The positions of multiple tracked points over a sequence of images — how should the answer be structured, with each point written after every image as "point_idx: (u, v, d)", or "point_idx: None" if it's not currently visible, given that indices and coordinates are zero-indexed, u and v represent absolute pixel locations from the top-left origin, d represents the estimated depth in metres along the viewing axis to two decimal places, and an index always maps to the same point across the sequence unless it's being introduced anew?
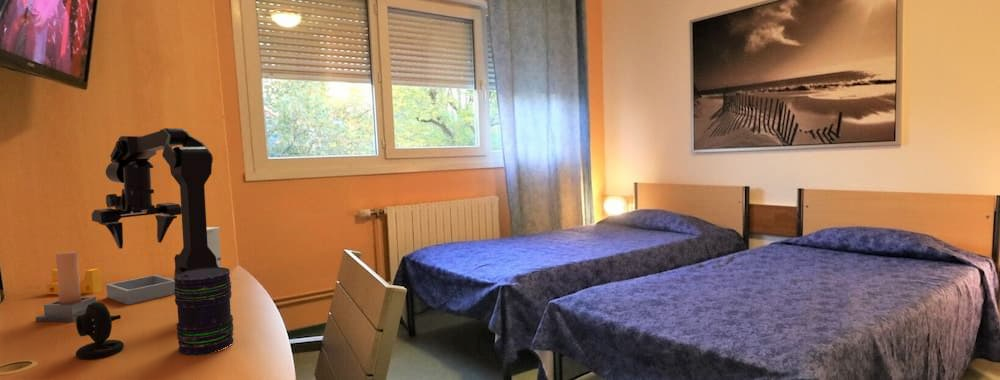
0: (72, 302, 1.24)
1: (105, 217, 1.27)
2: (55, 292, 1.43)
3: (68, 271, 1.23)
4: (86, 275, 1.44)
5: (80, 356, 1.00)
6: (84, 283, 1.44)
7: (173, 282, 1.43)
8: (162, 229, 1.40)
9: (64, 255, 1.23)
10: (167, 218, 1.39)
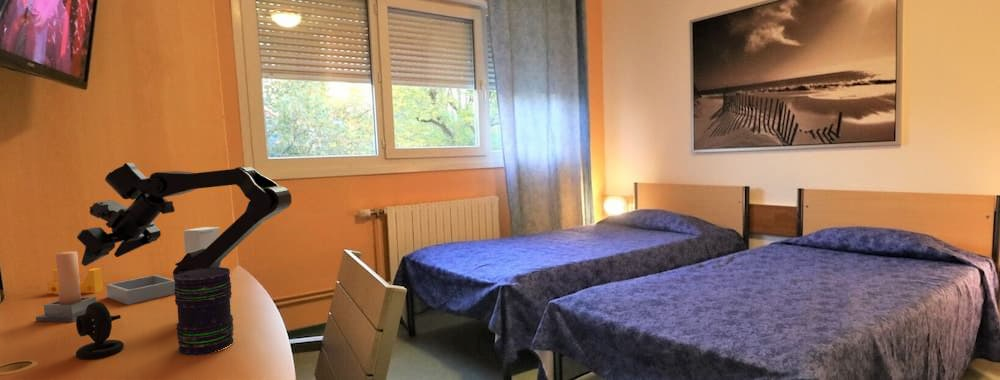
0: (72, 302, 1.24)
1: (101, 250, 1.15)
2: (57, 292, 1.44)
3: (68, 271, 1.23)
4: (88, 275, 1.45)
5: (80, 356, 1.00)
6: (86, 282, 1.45)
7: (173, 282, 1.43)
8: (129, 249, 1.28)
9: (64, 255, 1.23)
10: (143, 244, 1.29)
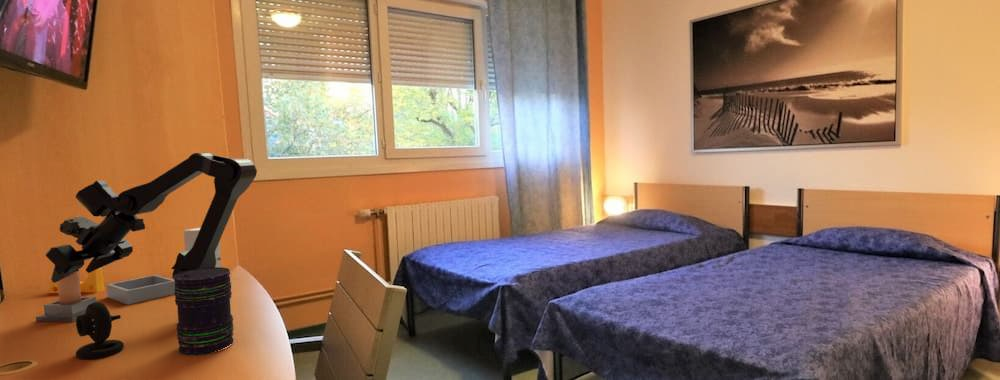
0: (72, 302, 1.24)
1: (70, 268, 1.15)
2: (58, 291, 1.44)
3: None
4: (89, 274, 1.45)
5: (80, 356, 1.00)
6: (88, 282, 1.45)
7: (173, 282, 1.43)
8: (101, 265, 1.29)
9: None
10: (115, 260, 1.30)
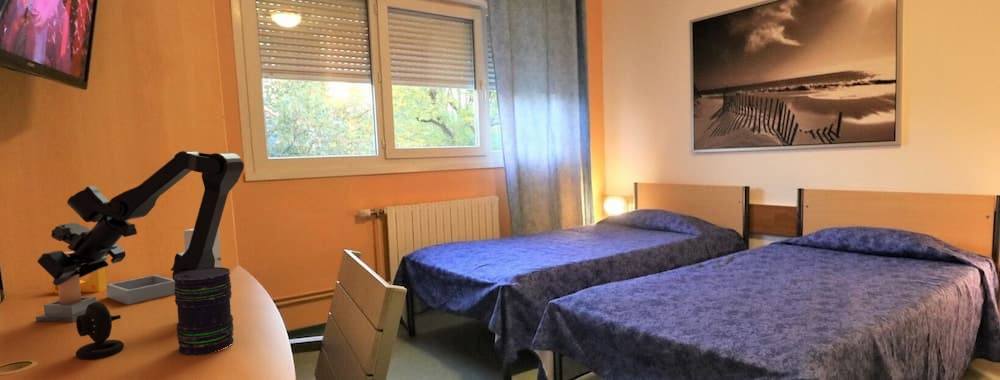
0: (72, 302, 1.24)
1: (62, 274, 1.16)
2: None
3: None
4: (92, 274, 1.46)
5: (80, 356, 1.00)
6: (90, 281, 1.46)
7: (173, 282, 1.43)
8: (85, 273, 1.27)
9: None
10: (99, 268, 1.28)
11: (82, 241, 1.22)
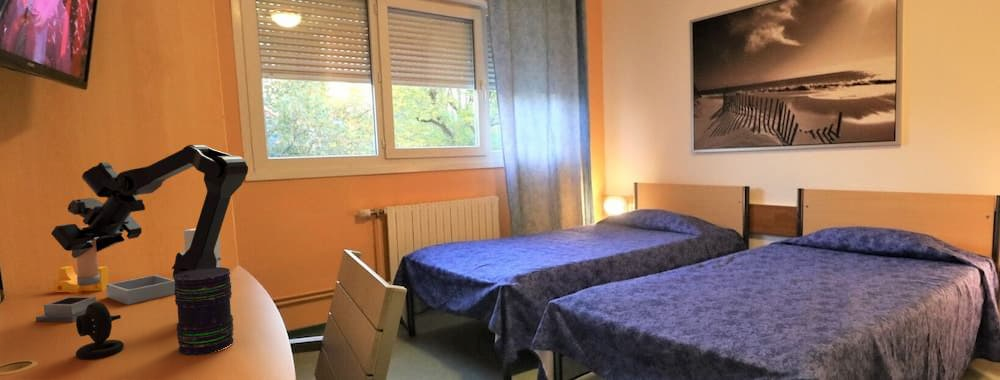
0: (88, 274, 1.29)
1: (72, 246, 1.19)
2: (63, 290, 1.45)
3: None
4: None
5: (80, 356, 1.00)
6: None
7: (173, 282, 1.43)
8: (102, 247, 1.31)
9: (81, 229, 1.27)
10: (115, 242, 1.31)
11: (95, 215, 1.25)
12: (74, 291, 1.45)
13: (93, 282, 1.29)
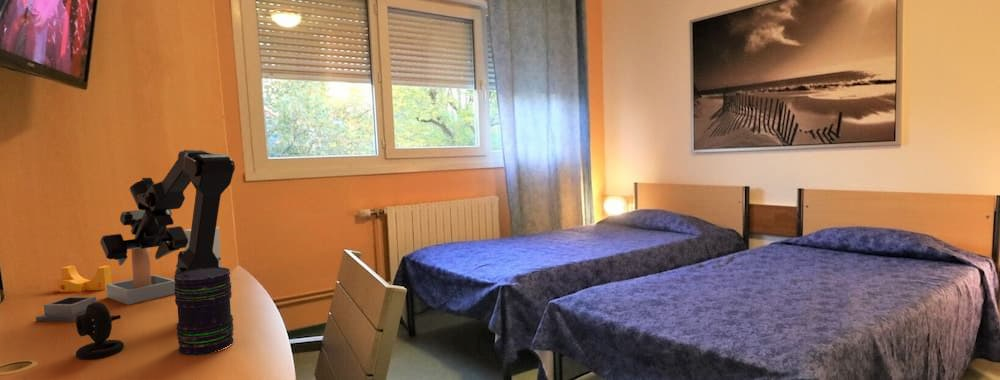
0: (140, 285, 1.40)
1: (111, 255, 1.30)
2: (66, 289, 1.46)
3: (137, 258, 1.39)
4: (98, 272, 1.47)
5: (80, 356, 1.00)
6: (96, 279, 1.48)
7: (173, 282, 1.43)
8: (162, 254, 1.44)
9: None
10: (170, 250, 1.42)
11: (138, 227, 1.35)
12: (77, 290, 1.46)
13: None
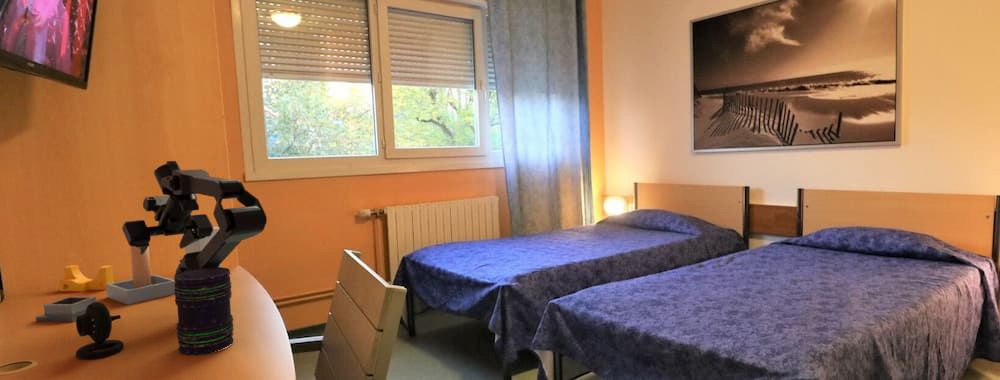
0: (139, 285, 1.40)
1: (134, 242, 1.23)
2: (68, 289, 1.47)
3: (136, 258, 1.39)
4: (100, 272, 1.48)
5: (80, 356, 1.00)
6: (98, 279, 1.48)
7: (173, 282, 1.43)
8: (187, 242, 1.36)
9: None
10: (195, 239, 1.35)
11: (162, 213, 1.28)
12: (79, 290, 1.47)
13: None
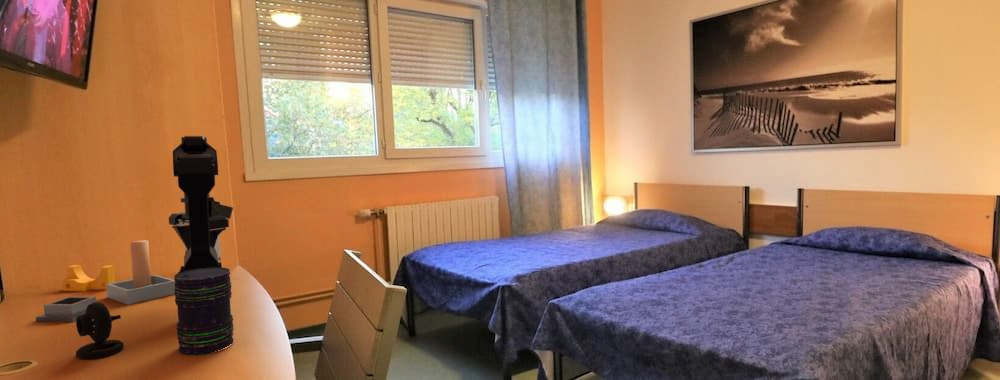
0: (139, 285, 1.40)
1: (169, 219, 1.39)
2: (71, 288, 1.47)
3: (136, 258, 1.39)
4: (102, 272, 1.48)
5: (80, 356, 1.00)
6: (100, 279, 1.48)
7: (173, 282, 1.43)
8: None
9: (134, 243, 1.39)
10: None
11: None
12: (81, 289, 1.47)
13: None
